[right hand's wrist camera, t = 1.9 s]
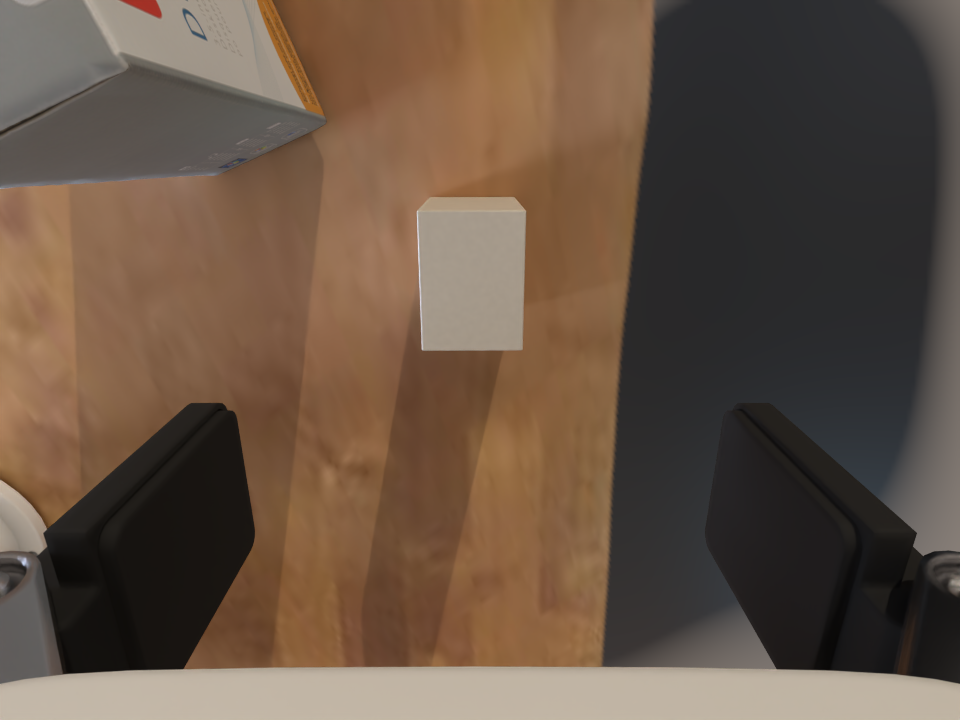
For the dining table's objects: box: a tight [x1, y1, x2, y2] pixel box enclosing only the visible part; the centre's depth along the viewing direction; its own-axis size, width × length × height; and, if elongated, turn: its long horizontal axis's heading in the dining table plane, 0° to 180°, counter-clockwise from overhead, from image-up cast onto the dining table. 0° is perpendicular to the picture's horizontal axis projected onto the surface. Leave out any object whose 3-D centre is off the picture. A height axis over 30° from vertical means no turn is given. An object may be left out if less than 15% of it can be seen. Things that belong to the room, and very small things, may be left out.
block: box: [417, 197, 526, 351], centre depth 31 cm, size 5×7×8 cm
